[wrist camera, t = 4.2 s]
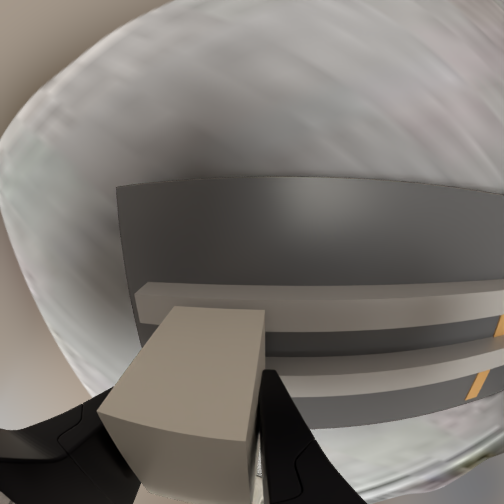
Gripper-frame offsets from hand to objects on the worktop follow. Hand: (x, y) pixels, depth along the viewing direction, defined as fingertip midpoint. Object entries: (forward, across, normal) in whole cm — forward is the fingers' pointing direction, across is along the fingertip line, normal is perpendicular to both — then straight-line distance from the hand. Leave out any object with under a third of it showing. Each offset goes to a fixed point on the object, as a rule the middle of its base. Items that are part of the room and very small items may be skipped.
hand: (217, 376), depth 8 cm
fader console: (+4, -8, 0) cm, 9 cm away
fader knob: (+2, 0, 0) cm, 2 cm away
